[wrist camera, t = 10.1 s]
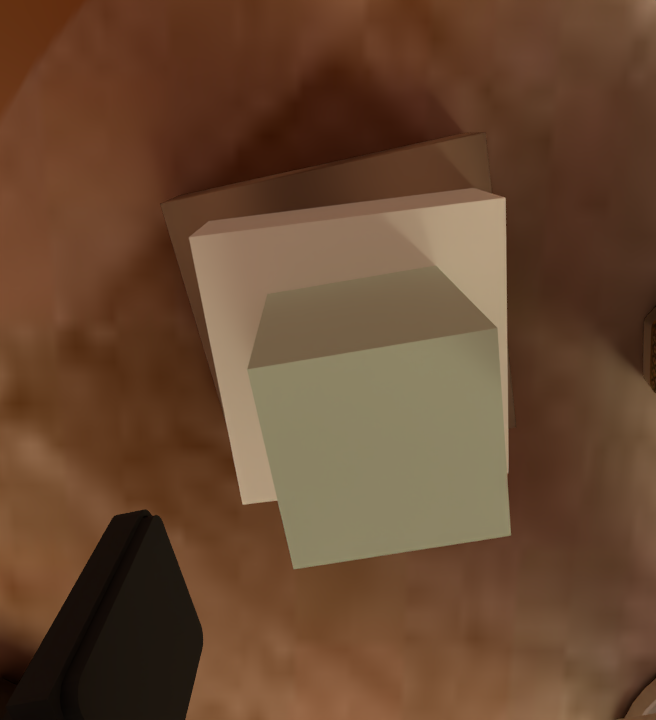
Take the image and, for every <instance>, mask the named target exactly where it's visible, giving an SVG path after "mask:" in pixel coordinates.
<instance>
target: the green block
mask: <svg viewBox="0 0 656 720" xmlns="http://www.w3.org/2000/svg"><path fill="white" fill-rule="evenodd" d="M247 371H248V375H249V380H250V384H251V388H252V392H253V397H254V401H255V405H256V410H257V414H258V418H259V423H260V427H261V431H262V436H263V440H264V444H265V448H266V453H267V457H268V461H269V466H270V470H271V474H272V479H273V483H274V487H275V491H276V496H277V500H278V504H279V509H280V513H281V517H282V522H283V526H284V530H285V534H286V539H287V543H288V547H289V552H290V556H291V560H292V565H293V569H299V568H306V567H312V566H318V565H325V564H331V563H338V562H344V561H351V560H357V559H364V558H370V557H376V556H383V555H389V554H396V553H402V552H409V551H415V550H422V549H428V548H435V547H441V546H447V545H454V544H460V543H467V542H473V541H480V540H486V539H493V538H499V537H506V536H511V527H510V512H509V496H508V481H507V466H506V451H505V436H504V420H503V405H502V390H501V375H500V360H499V344H498V329H497V327H496V326H495V325H494V324H493V323H492V322H491V321H490V320H489V319H488V318H487V317H486V316H485V315H484V314H483V313H482V312H481V311H480V310H479V309H478V308H477V307H476V306H475V305H474V304H473V303H472V302H471V301H470V300H469V299H468V298H467V296H466V295H465V294H464V293H463V292H462V291H461V290H460V289H459V288H458V287H457V286H456V285H455V284H454V283H453V282H452V281H451V280H450V279H449V278H448V277H447V276H446V275H445V274H444V273H443V272H442V271H441V270H440V269H439V268H438V267H437V266H430V267H424V268H418V269H412V270H406V271H400V272H394V273H389V274H383V275H377V276H371V277H365V278H359V279H353V280H347V281H341V282H336V283H330V284H324V285H318V286H312V287H306V288H300V289H294V290H289V291H283V292H277V293H271V294H267V297H266V301H265V305H264V309H263V312H262V316H261V320H260V323H259V327H258V331H257V335H256V338H255V342H254V346H253V350H252V353H251V357H250V361H249V365H248V368H247Z"/></svg>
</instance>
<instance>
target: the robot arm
mask: <svg viewBox="0 0 656 720" xmlns="http://www.w3.org/2000/svg"><path fill="white" fill-rule="evenodd" d="M202 647H203V632H202V627H201V624H200V621H199V619H198V616H197V613H196V611H195V608H194V605H193V602H192V600H191V597H190V594H189V592H188V589H187V586H186V584H185V581H184V578H183V575H182V573H181V570H180V567H179V565H178V562H177V559H176V557H175V554H174V551H173V549H172V546H171V543H170V540H169V538H168V535H167V532H166V530H165V527H164V524H163V522H162V520H161V518H160V517H159V516H157V515H155V516H152V515H151V514H150V512H149V511H148V510H140V511H135V512H130V513H125V514H120V515H116V516H114V517H113V518H112V520H111V522H110V523H109V525H108V527H107V529H106V530H105V532H104V534H103V536H102V538H101V539H100V541H99V543H98V545H97V546H96V548H95V550H94V552H93V553H92V555H91V557H90V559H89V560H88V562H87V564H86V566H85V567H84V569H83V571H82V573H81V574H80V576H79V578H78V580H77V581H76V583H75V585H74V587H73V588H72V590H71V592H70V594H69V596H68V597H67V599H66V601H65V603H64V604H63V606H62V608H61V610H60V611H59V613H58V615H57V617H56V618H55V620H54V622H53V624H52V625H51V627H50V629H49V631H48V632H47V634H46V636H45V638H44V639H43V641H42V643H41V645H40V647H39V648H38V650H37V652H36V654H35V655H34V657H33V659H32V661H31V662H30V664H29V666H28V668H27V669H26V671H25V673H24V675H23V676H22V678H21V680H20V682H19V683H18V685H17V687H16V689H15V690H14V692H13V694H12V696H11V698H10V699H9V701H8V703H7V705H6V706H5V707H6V709H7V712H6V714H5V715H4V717H3V719H2V720H185V718H186V714H187V710H188V706H189V702H190V698H191V693H192V689H193V685H194V681H195V677H196V673H197V668H198V664H199V660H200V656H201V652H202ZM616 720H656V679H655V680H653V681H652V682H651V683H650V684H649V685H648V686H647V687H645V689H644V690H643V691H642V692H641V693H640V695H639V696H638V697H637V698H636V700H635V701H634V702H633V703H632V705H631V707H630V709H629V711H628V713H627V715H626V716H625V718H622V719H616Z"/></svg>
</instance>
